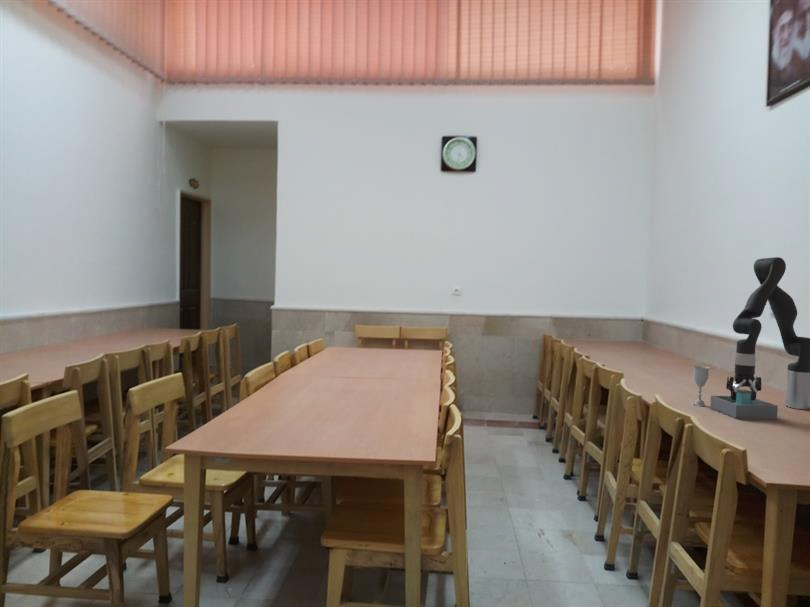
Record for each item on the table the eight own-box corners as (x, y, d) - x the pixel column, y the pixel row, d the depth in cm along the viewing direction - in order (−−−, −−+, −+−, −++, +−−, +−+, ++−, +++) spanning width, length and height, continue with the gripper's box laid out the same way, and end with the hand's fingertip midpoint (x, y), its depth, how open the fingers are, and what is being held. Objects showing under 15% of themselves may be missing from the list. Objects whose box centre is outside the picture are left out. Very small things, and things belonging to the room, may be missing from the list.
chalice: (687, 403, 256) (689, 366, 255) (697, 402, 259) (699, 365, 258) (700, 407, 249) (702, 368, 249) (711, 406, 252) (713, 368, 251)
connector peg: (743, 411, 241) (745, 389, 240) (750, 413, 236) (751, 391, 236) (734, 411, 241) (735, 389, 240) (740, 413, 236) (742, 391, 236)
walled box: (748, 409, 248) (749, 396, 248) (777, 419, 230) (777, 405, 230) (710, 408, 247) (710, 395, 247) (735, 418, 229) (736, 405, 229)
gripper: (755, 362, 241) (753, 398, 242) (723, 361, 241) (722, 397, 242) (766, 365, 234) (764, 402, 235) (734, 364, 233) (732, 401, 234)
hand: (743, 400), depth 238 cm, fingers open, 8 cm apart
